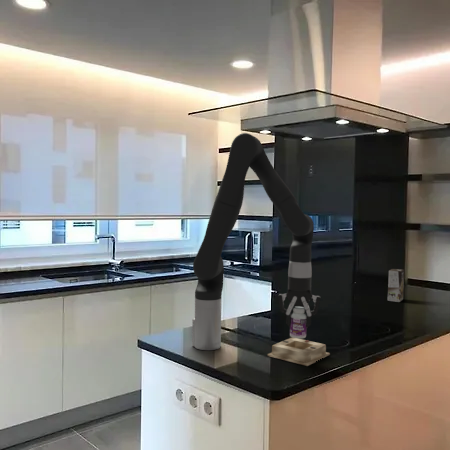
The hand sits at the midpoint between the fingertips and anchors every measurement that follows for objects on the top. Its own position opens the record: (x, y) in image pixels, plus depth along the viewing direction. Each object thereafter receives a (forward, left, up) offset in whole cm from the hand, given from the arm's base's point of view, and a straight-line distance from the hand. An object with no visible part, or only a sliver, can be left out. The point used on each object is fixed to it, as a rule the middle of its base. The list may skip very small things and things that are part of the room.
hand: (298, 326), depth 162 cm
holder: (-1, +2, -10) cm, 10 cm away
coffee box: (-10, +118, -11) cm, 119 cm away
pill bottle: (0, 0, -4) cm, 4 cm away
